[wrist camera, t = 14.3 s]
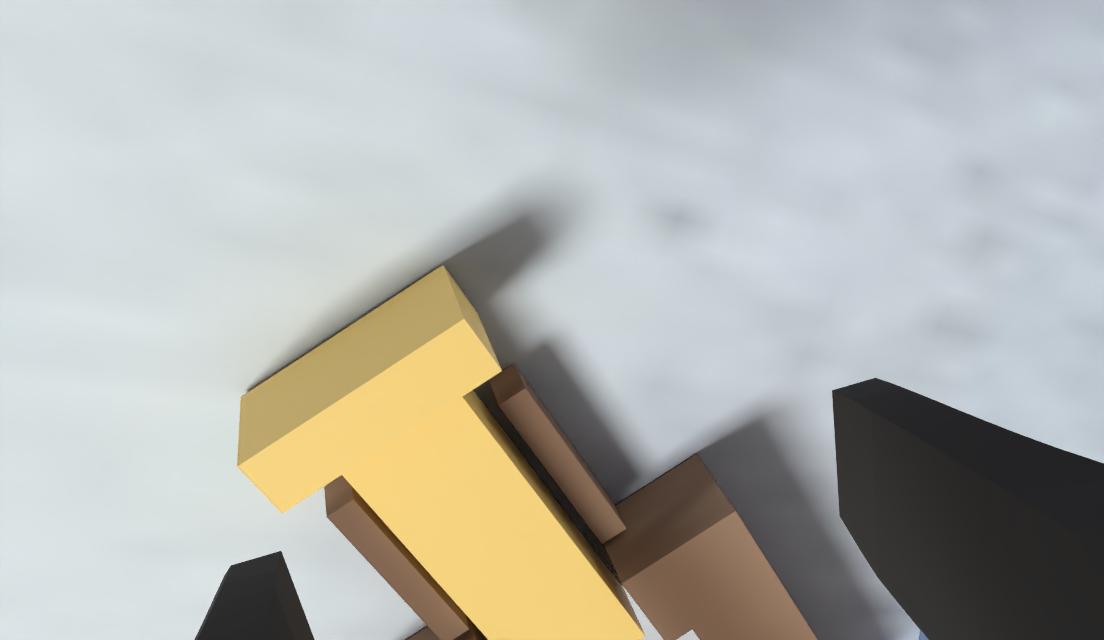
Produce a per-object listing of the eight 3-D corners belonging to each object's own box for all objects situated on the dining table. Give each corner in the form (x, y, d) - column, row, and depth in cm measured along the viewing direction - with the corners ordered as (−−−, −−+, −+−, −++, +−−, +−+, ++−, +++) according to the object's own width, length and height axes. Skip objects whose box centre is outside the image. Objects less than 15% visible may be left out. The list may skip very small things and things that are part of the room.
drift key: (443, 264, 22) (464, 318, 20) (659, 566, 27) (697, 640, 25) (241, 396, 23) (236, 466, 20) (492, 673, 28) (513, 756, 25)
